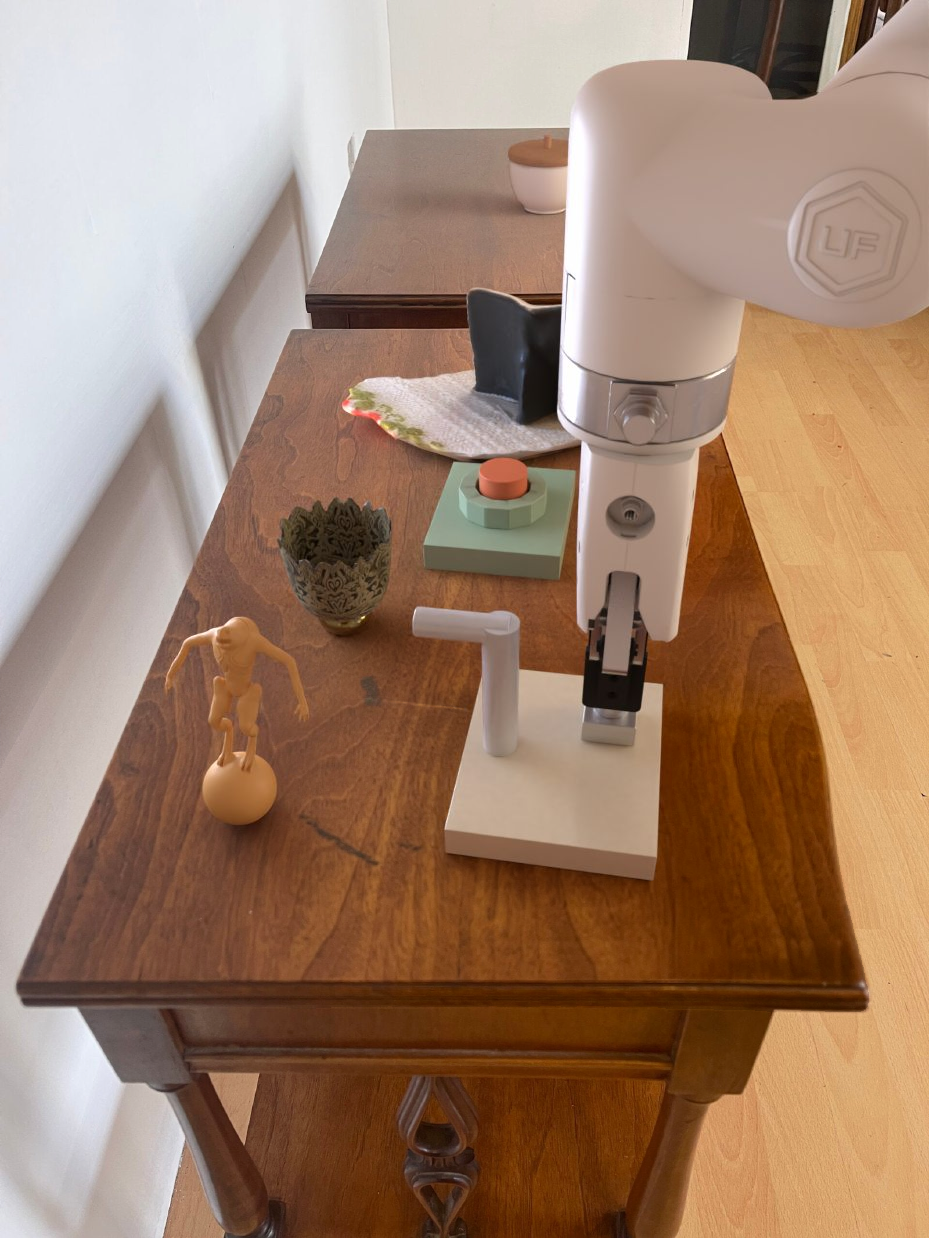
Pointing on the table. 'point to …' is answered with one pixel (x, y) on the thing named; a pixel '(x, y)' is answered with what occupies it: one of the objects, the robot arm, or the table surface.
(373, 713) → the table surface
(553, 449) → the religious ornament
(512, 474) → the button
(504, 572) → the button block
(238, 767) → the figurine
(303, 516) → the cup
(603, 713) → the tap lever
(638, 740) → the tap base
